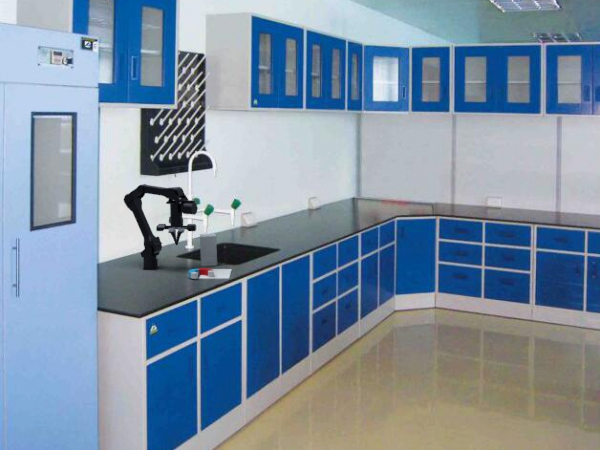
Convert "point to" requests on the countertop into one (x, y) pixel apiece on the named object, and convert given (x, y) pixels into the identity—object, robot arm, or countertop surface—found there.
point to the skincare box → (208, 249)
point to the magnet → (200, 272)
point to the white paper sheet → (218, 274)
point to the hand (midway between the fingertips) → (176, 245)
